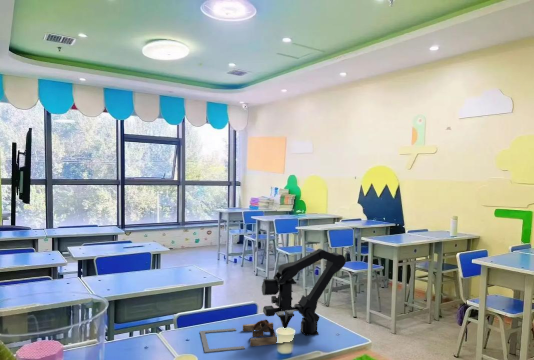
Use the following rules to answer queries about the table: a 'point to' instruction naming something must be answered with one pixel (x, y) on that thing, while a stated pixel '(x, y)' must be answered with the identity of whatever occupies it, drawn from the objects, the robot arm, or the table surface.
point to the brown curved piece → (263, 329)
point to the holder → (259, 340)
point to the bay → (207, 350)
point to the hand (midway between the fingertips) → (284, 329)
